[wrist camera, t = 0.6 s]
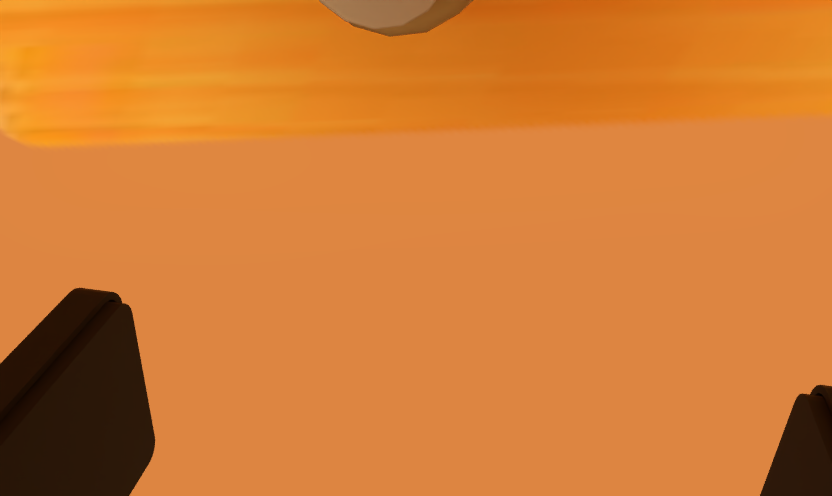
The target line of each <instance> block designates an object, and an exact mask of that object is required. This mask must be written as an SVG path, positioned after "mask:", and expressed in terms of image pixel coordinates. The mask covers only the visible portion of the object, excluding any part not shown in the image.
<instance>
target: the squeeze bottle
mask: <svg viewBox="0 0 832 496" xmlns="http://www.w3.org/2000/svg"><path fill="white" fill-rule="evenodd" d="M319 1H320V2H321V3H322V4H323V5H325V6H326V7H327V8H329V9H330V10H331V11H333V12H334V13H335V14H337V15H338V16H339V17H340V18H342V19H343V20H344V21H346V22H349V23H350V24H351V25H353V26H355V27H358V28H362V29H365V30H369V31H372V32H376V33H379V34H383V35H386V36H398V35H407V34H415V33H424V32H428V31H429V30H431V29H433V28H435V27H436V26H438V25H440V24H442V23H443V22H445V21H447V20H449V19H450V18H452V17H454V16H456V15H457V14H459V13H460V12H461V11H462V10H463V9H465V8H466V7H467V6H468V5H469V4H470V3H471V2H472V1H473V0H319Z"/></svg>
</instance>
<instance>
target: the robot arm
mask: <svg viewBox="0 0 832 496" xmlns="http://www.w3.org/2000/svg"><path fill="white" fill-rule="evenodd" d="M154 447H155V436H154V430H153V425H152V419H151V414H150V408H149V403H148V397H147V392H146V386H145V381H144V375H143V370H142V364H141V359H140V353H139V348H138V342H137V337H136V331H135V326H134V320H133V315H132V311H131V308H130V307H129V305H127V304H123V303H122V301H121V298H120V297H119V295H118V294H116V293H114V292H108V291H100V290H93V289H85V288H76V289H74V290H72V291H71V292H70V293H69V294H68V295H67V296H66V297H65V298H64V299H63V300H62V301H61V302H60V303H59V304H58V305H57V306H56V307H55V308H54V309H53V310H52V311H51V312H50V313H49V314H48V315H47V316H46V317H45V318H44V320H43V321H42V322H41V323H39V325H38V326H37V327H36V328H35V329H34V330H33V331H32V332H31V333H30V334H29V335H28V336H27V337H26V338H25V339H24V340H23V341H22V342H21V343H20V344H19V345H18V346H17V347H16V348H15V349H14V350H13V351H12V352H11V353H10V354H9V356H7V358H6V359H5V360H4V361H3V362H2V363H1V364H0V496H129V495H130V493H131V492H132V490H133V489H134V487H135V485H136V484H137V482H138V480H139V479H140V477H141V476H142V473H143V472H144V471H145V469H146V467H147V466H148V464H149V462H150V460H151V458H152V455H153V451H154ZM760 496H832V386H825V385H818V386H816V387H815V388H814V389H813V390H812V392H811V394H810V395H809V394H800V395H799V396H798V397H797V399H796V400H795V403H794V405H793V408H792V411H791V413H790V416H789V419H788V421H787V424H786V427H785V430H784V432H783V435H782V438H781V440H780V443H779V446H778V449H777V451H776V454H775V457H774V459H773V462H772V465H771V467H770V470H769V473H768V475H767V479H766V481H765V484H764V486H763V489H762V492H761V494H760Z"/></svg>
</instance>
